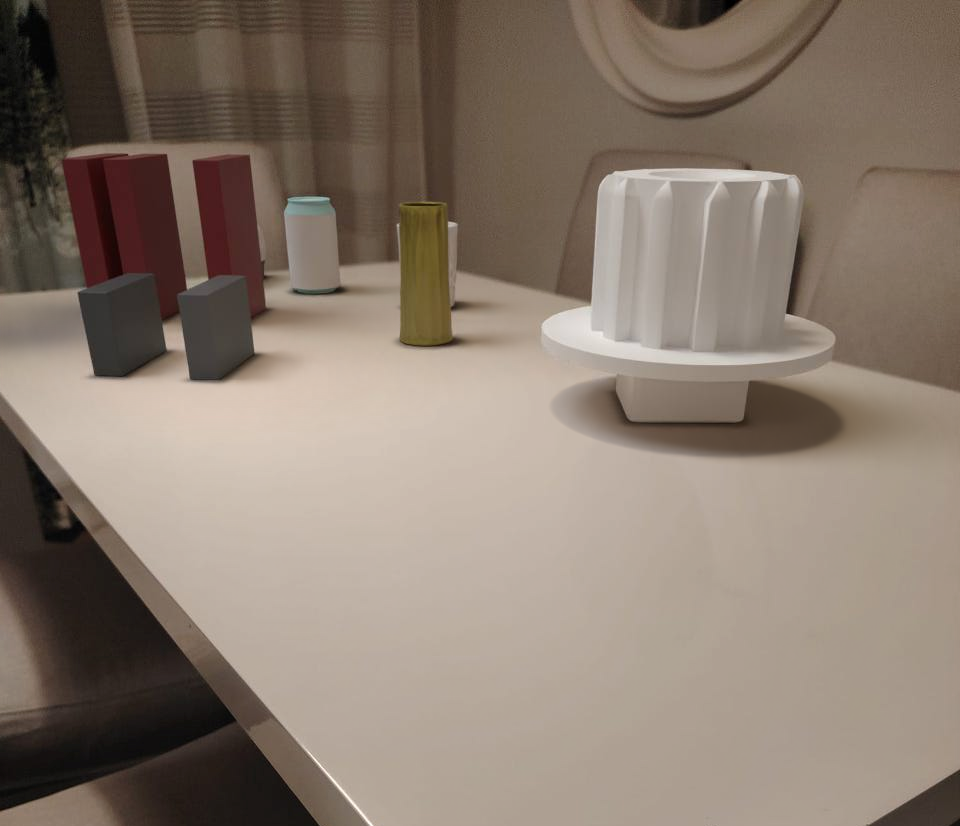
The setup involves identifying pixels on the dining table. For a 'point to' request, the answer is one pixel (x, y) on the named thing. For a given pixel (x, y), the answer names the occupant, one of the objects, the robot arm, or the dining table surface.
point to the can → (312, 245)
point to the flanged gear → (692, 292)
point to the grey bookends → (139, 331)
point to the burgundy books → (127, 220)
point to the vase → (424, 274)
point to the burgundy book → (230, 222)
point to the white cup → (451, 256)
